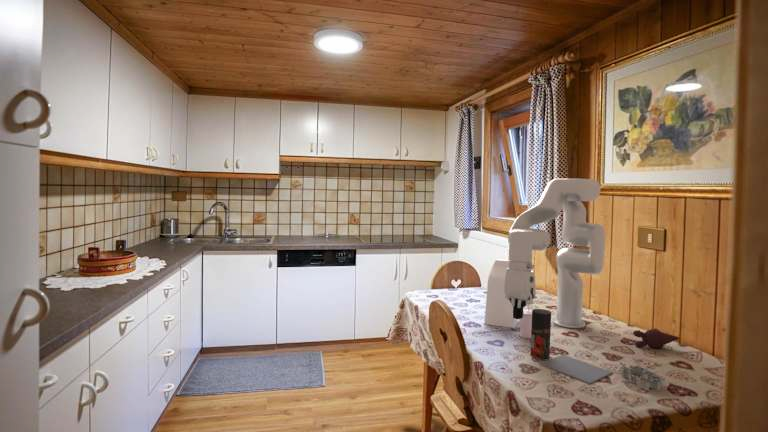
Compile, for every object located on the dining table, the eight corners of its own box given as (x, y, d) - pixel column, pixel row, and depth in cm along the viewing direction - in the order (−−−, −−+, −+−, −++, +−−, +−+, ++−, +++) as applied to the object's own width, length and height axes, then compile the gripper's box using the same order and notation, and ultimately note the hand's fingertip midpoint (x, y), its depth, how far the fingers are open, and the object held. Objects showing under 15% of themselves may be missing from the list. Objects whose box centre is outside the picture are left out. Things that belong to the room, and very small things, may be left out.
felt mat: (562, 355, 137) (563, 354, 137) (612, 373, 124) (612, 372, 124) (539, 364, 129) (539, 363, 129) (589, 384, 116) (590, 382, 116)
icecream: (671, 327, 149) (627, 328, 151) (683, 328, 142) (637, 329, 144) (674, 346, 148) (630, 348, 149) (687, 349, 141) (641, 350, 142)
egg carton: (616, 374, 124) (617, 361, 124) (641, 374, 124) (641, 361, 124) (640, 391, 113) (640, 376, 113) (666, 391, 113) (667, 376, 113)
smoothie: (536, 340, 150) (537, 302, 150) (517, 339, 152) (519, 301, 151) (533, 334, 157) (534, 298, 156) (515, 333, 158) (517, 297, 157)
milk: (484, 323, 169) (486, 261, 168) (488, 316, 180) (490, 257, 178) (514, 327, 164) (517, 263, 163) (517, 319, 175) (519, 259, 174)
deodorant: (553, 357, 135) (555, 312, 134) (541, 361, 132) (543, 315, 131) (537, 351, 140) (539, 308, 139) (526, 354, 137) (528, 310, 136)
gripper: (545, 268, 138) (543, 322, 139) (509, 261, 150) (507, 311, 151) (532, 270, 133) (529, 325, 134) (495, 263, 145) (493, 314, 146)
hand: (517, 318), depth 142 cm, fingers closed
